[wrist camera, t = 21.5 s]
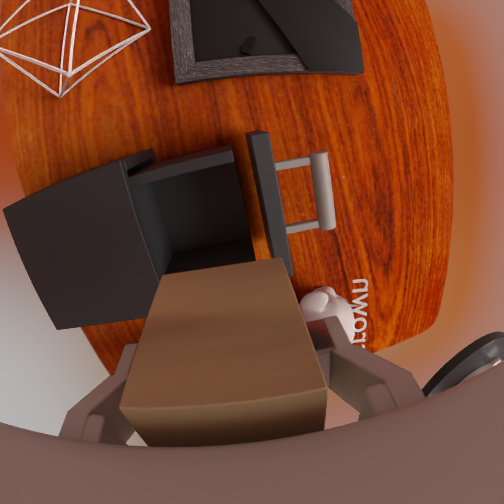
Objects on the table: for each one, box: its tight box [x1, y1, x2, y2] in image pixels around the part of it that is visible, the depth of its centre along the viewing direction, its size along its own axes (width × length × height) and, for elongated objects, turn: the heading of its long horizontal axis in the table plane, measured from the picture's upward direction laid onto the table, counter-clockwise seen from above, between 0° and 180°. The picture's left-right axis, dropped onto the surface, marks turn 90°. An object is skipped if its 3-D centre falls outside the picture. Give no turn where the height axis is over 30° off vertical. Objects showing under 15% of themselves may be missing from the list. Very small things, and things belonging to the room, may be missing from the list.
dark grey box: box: [3, 149, 161, 330], centre depth 23 cm, size 12×12×9 cm
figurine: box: [299, 279, 368, 349], centre depth 29 cm, size 12×8×10 cm
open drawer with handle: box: [128, 130, 336, 278], centre depth 23 cm, size 15×10×7 cm
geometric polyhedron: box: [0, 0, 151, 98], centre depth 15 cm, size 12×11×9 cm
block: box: [119, 257, 328, 447], centre depth 9 cm, size 4×4×6 cm
